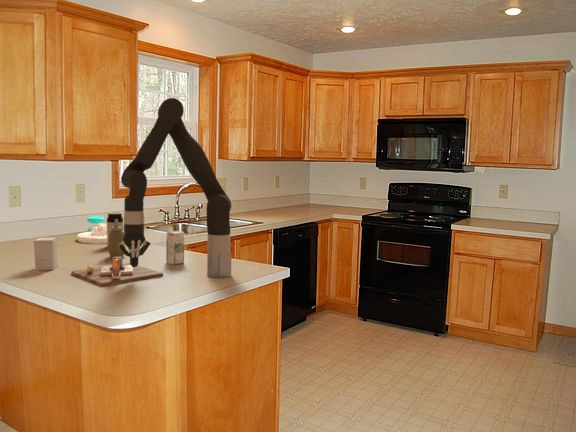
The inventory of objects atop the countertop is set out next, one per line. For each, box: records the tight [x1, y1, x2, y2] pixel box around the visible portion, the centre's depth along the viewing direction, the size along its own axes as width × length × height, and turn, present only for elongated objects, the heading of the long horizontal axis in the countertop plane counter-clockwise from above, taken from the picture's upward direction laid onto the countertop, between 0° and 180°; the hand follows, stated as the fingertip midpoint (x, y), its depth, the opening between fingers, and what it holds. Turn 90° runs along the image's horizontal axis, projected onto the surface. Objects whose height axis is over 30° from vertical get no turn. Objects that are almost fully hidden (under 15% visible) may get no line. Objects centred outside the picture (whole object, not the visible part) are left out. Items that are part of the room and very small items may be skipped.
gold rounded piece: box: [86, 265, 94, 274], centre depth 205 cm, size 2×2×3 cm
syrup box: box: [165, 230, 185, 265], centre depth 234 cm, size 6×6×14 cm
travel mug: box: [106, 211, 124, 247], centre depth 272 cm, size 8×8×18 cm
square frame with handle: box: [100, 259, 133, 279], centre depth 205 cm, size 19×12×7 cm, turn 16°
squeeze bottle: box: [107, 219, 127, 258], centre depth 244 cm, size 8×8×18 cm
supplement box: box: [33, 237, 59, 271], centre depth 217 cm, size 7×7×13 cm
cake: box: [77, 222, 107, 245], centre depth 293 cm, size 28×28×10 cm
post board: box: [70, 257, 164, 288], centre depth 209 cm, size 26×26×7 cm
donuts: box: [86, 215, 105, 232], centre depth 314 cm, size 10×10×10 cm
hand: (134, 266), depth 202 cm, fingers closed
